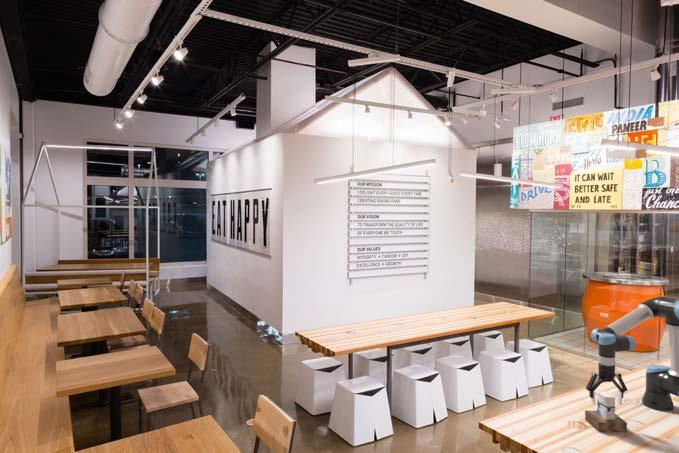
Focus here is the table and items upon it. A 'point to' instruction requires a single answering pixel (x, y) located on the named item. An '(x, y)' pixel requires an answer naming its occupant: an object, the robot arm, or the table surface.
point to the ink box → (606, 405)
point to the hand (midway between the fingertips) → (606, 403)
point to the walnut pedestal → (605, 422)
